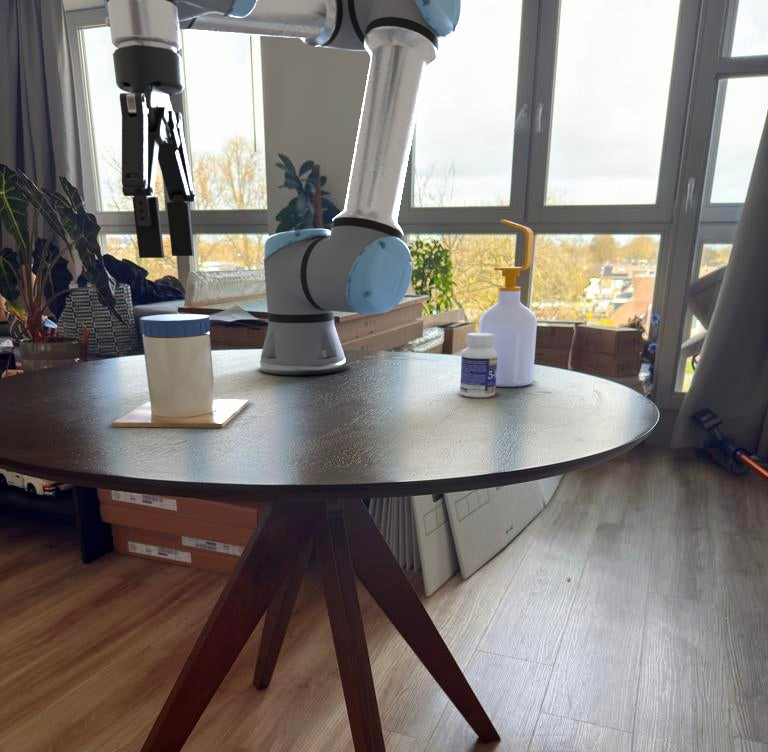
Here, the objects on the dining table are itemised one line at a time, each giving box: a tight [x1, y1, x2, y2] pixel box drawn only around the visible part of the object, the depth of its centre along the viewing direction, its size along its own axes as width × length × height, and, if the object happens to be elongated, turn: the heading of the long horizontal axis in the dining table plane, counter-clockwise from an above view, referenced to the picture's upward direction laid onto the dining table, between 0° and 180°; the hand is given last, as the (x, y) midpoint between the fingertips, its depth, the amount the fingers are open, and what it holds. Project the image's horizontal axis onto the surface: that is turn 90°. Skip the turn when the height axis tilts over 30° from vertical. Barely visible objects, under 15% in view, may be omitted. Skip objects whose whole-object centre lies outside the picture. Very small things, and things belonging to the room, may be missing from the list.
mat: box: [111, 399, 249, 429], centre depth 97 cm, size 14×14×1 cm
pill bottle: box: [459, 332, 497, 398], centre depth 107 cm, size 5×5×9 cm
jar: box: [141, 332, 217, 418], centre depth 94 cm, size 8×8×12 cm
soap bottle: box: [478, 219, 538, 388], centre depth 113 cm, size 9×9×25 cm
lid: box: [138, 313, 212, 337], centre depth 92 cm, size 9×9×2 cm
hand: (168, 256), depth 90 cm, fingers open, 11 cm apart
